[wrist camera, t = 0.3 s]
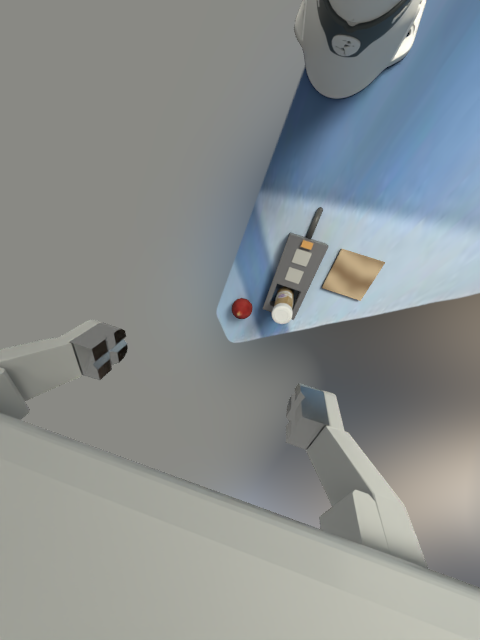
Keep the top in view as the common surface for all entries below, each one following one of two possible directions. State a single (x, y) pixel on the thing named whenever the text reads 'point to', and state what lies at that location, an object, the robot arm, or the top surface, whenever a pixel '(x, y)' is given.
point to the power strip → (298, 265)
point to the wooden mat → (352, 274)
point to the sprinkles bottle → (283, 305)
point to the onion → (241, 308)
